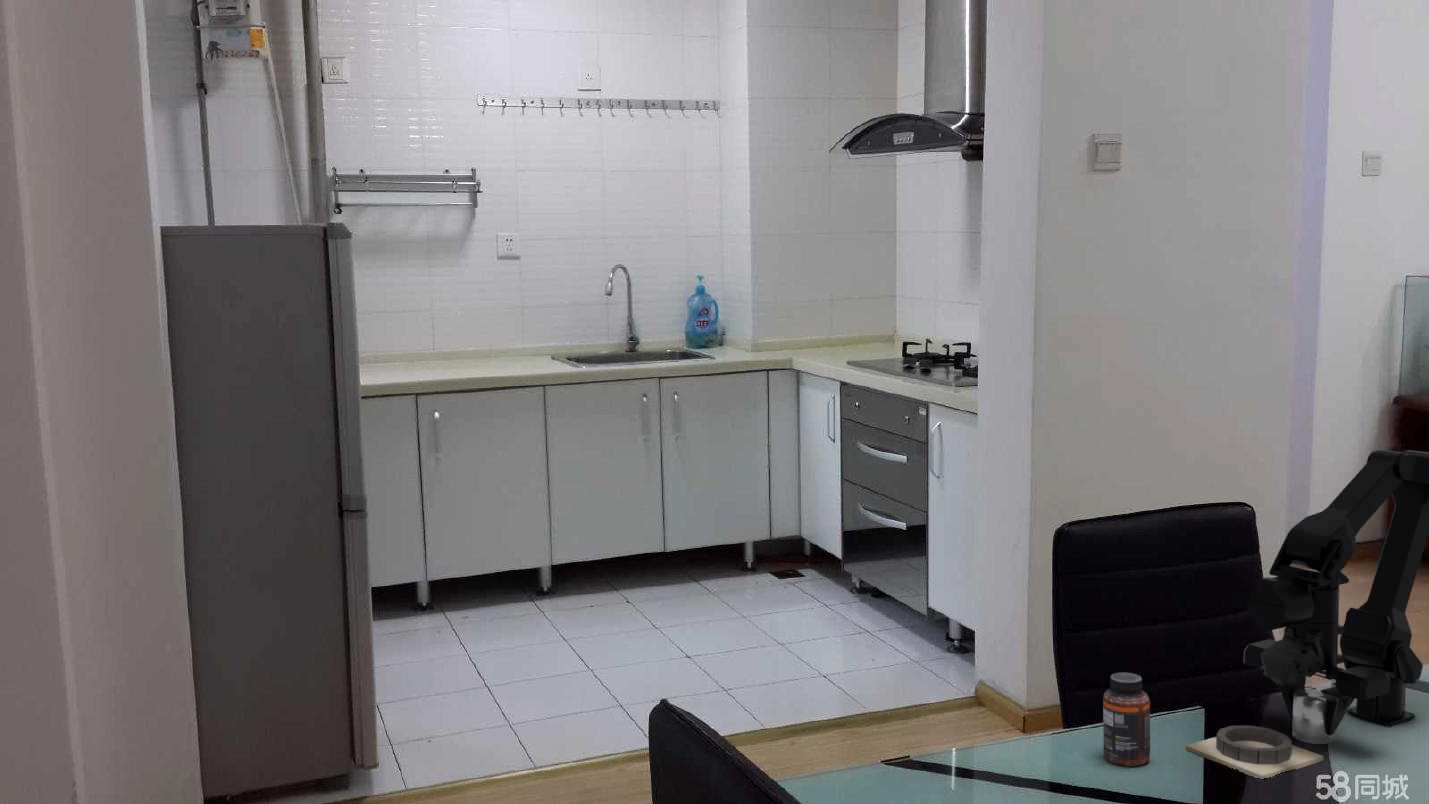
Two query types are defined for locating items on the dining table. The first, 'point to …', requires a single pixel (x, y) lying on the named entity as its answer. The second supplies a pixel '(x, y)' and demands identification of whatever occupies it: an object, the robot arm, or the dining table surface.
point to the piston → (1310, 717)
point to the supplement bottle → (1126, 721)
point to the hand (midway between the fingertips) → (1312, 728)
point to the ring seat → (1254, 751)
